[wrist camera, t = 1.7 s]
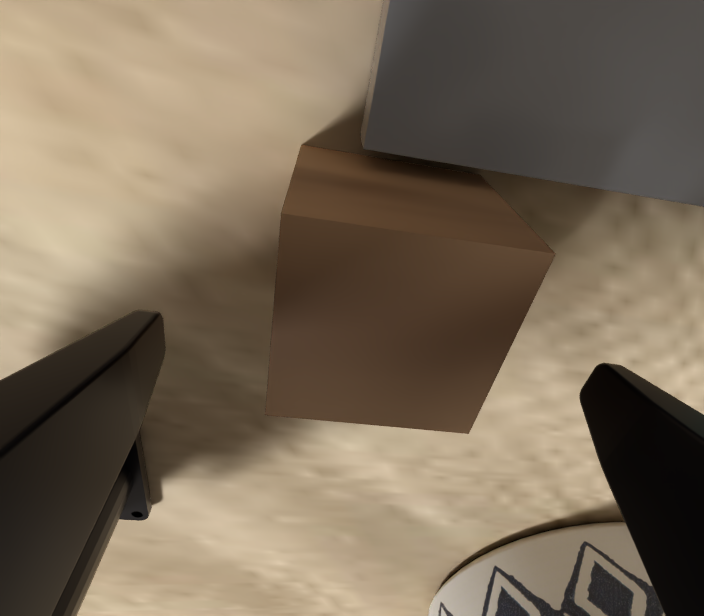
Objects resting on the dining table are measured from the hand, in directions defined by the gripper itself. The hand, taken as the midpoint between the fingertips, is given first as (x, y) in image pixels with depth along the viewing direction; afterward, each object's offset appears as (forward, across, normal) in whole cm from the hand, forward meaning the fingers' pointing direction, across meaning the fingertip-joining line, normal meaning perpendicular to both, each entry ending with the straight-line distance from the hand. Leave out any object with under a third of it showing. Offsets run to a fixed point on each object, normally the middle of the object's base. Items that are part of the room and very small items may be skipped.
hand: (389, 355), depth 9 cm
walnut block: (+5, 0, 0) cm, 5 cm away
